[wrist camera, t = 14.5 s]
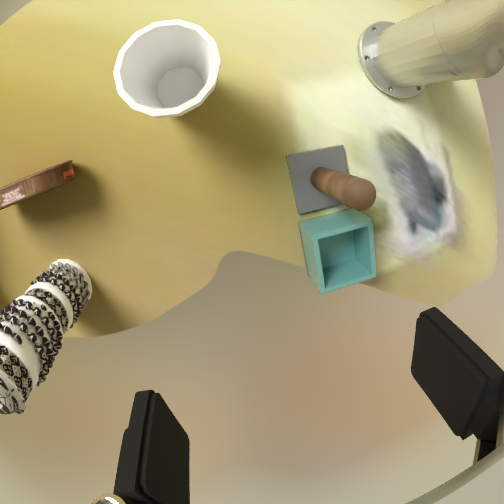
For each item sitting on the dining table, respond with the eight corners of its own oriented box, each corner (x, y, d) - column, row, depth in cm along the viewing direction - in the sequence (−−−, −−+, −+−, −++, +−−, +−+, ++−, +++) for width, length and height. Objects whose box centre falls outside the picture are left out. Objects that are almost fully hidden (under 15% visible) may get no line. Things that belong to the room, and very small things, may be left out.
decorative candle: (35, 275, 39) (-53, 373, 16) (68, 244, 38) (-34, 344, 15) (70, 318, 43) (5, 432, 19) (105, 292, 42) (38, 418, 19)
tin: (81, 156, 35) (52, 161, 27) (86, 178, 36) (58, 188, 28) (5, 185, 34) (-28, 197, 26) (9, 204, 35) (-22, 219, 27)
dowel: (330, 165, 39) (374, 176, 28) (334, 187, 40) (377, 207, 29) (308, 169, 39) (345, 182, 27) (312, 192, 40) (350, 214, 29)
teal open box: (352, 208, 42) (372, 219, 36) (358, 260, 45) (376, 276, 39) (298, 222, 42) (311, 235, 36) (307, 275, 45) (320, 294, 39)
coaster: (341, 145, 38) (342, 145, 38) (350, 200, 41) (352, 201, 41) (285, 155, 38) (287, 156, 38) (297, 213, 41) (299, 214, 41)
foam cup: (230, 71, 33) (238, 39, 21) (199, 134, 36) (192, 130, 24) (163, 47, 31) (142, 9, 19) (133, 109, 34) (97, 97, 21)
